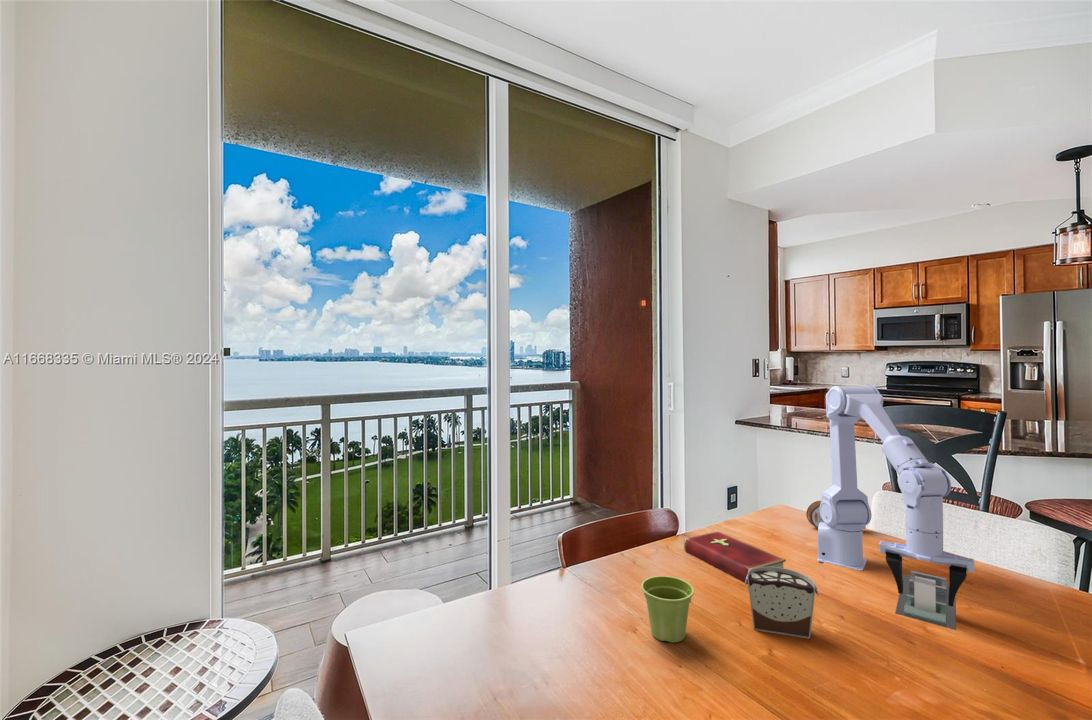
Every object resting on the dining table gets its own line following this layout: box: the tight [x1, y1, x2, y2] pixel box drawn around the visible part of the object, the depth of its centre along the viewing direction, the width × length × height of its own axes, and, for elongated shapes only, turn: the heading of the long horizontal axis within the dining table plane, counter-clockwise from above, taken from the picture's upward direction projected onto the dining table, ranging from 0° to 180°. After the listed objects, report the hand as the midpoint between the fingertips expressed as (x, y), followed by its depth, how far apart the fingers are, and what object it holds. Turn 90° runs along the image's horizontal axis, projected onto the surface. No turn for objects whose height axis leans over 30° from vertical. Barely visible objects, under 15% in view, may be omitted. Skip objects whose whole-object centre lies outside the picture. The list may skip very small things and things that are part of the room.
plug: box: [914, 576, 936, 613], centre depth 94 cm, size 3×4×6 cm
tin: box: [805, 500, 825, 530], centre depth 140 cm, size 15×3×8 cm, turn 82°
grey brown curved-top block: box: [744, 567, 820, 639], centre depth 90 cm, size 12×6×10 cm, turn 71°
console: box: [894, 570, 957, 631], centre depth 99 cm, size 9×22×2 cm, turn 140°
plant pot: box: [640, 575, 695, 644], centre depth 88 cm, size 9×9×9 cm
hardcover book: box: [683, 530, 787, 585], centre depth 118 cm, size 12×21×4 cm, turn 25°
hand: (925, 597), depth 93 cm, fingers open, 7 cm apart
